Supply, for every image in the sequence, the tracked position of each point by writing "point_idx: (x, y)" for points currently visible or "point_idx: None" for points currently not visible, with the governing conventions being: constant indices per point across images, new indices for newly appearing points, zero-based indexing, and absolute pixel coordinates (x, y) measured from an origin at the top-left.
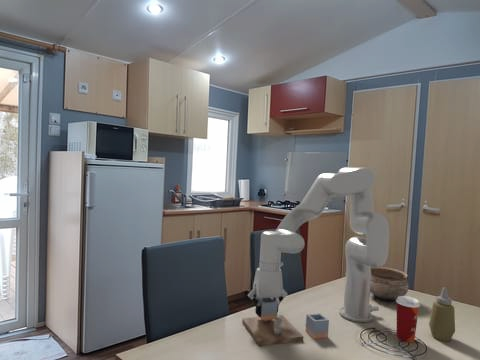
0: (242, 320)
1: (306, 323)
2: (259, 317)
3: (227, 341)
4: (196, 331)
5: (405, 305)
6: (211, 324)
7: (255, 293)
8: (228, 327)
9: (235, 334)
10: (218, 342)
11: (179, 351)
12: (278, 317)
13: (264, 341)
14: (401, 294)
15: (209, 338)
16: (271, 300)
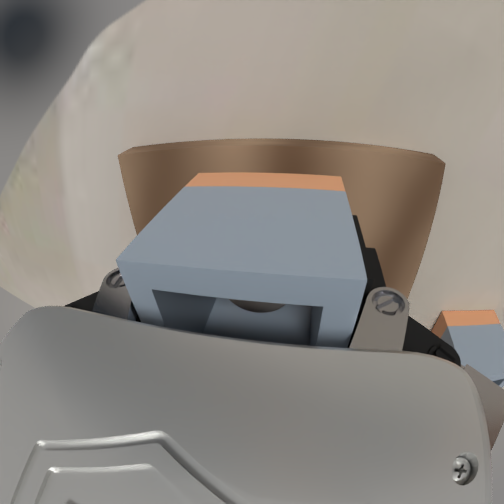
0: (126, 151)
1: (450, 344)
2: (238, 156)
3: (90, 292)
4: (9, 212)
5: None
6: (25, 164)
7: (52, 314)
8: (75, 197)
9: (105, 260)
10: (69, 288)
11: (21, 291)
12: (395, 190)
13: None
14: None
15: (44, 261)
16: (318, 316)
